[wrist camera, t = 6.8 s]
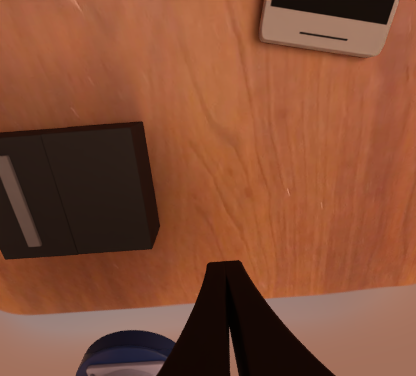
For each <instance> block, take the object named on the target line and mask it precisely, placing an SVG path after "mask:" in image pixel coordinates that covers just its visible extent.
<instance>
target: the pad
mask: <svg viewBox="0 0 416 376" xmlns="http://www.w3.org/2000/svg"><path fill="white" fill-rule="evenodd" d="M41 137H42V140H43V144H44V147H45V150H46V153H47V156H48V159H49V162H50V166H51V169H52V172H53V175H54V178H55V181H56V184H57V188H58V191H59V194H60V197H61V200H62V203H63V206H64V210H65V213H66V216H67V219H68V222H69V225H70V228H71V232H72V235H73V238H74V241H75V244H76V247H77V250H78V254H88V253H103V252H117V251H132V250H147V249H152V248H153V245H154V242H155V239H156V236H157V233H158V230H159V227H160V224H159V218H158V212H157V206H156V199H155V193H154V187H153V181H152V175H151V169H150V163H149V157H148V150H147V144H146V138H145V132H144V126H143V122H130V123H116V124H103V125H89V126H76V127H67V128H63V129H59V130H55V131H51V132H47V133H43V134H41Z"/></svg>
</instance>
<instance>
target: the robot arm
mask: <svg viewBox="0 0 416 376" xmlns="http://www.w3.org/2000/svg"><path fill="white" fill-rule="evenodd" d="M229 327H230V332H231V337H232V343H233V347H234V353H235V357H236V363H237V368H238V373H239V376H335V375H334V374H333V373H332V372H331V371H330V370H329V369H327V368H326V367H325V366H324V365H323V364H322V363H321V362H320V361H319V360H318V359H317V358H316V357H315V356H314V355H313V354H311V352H310V351H309V350H308V349H307V348H306V347H305V346H304V345H303V344H302V343H301V342H300V341H299V340H298V339H297V338H296V337H295V336H294V335H293V334H292V333H291V331H290V330H289V329H288V328H287V327H286V326H285V325H284V324H283V322H282V321H281V320H280V319H279V317H278V316H277V315H276V314H275V312H274V311H273V310H272V309H271V307H270V306H269V305H268V304H267V302H266V301H265V299H264V298H263V297H262V295H261V294H260V292H259V291H258V290H257V288H256V287H255V285H254V284H253V282H252V281H251V279H250V277H249V276H248V274H247V272H246V270H245V269H244V267H243V265H242V262H240V261H239V260H236V261H222V262H209V263H208V264H207V268H206V273H205V277H204V281H203V284H202V287H201V290H200V292H199V295H198V298H197V300H196V303H195V305H194V308H193V310H192V312H191V314H190V316H189V319H188V321H187V323H186V325H185V327H184V329H183V331H182V333H181V335H180V337H179V339H178V340H177V342H176V344H175V346H174V347H173V349H172V351H171V353H170V354H169V356H168V358H167V359H166V361H146V362H130V363H114V364H98V365H89V366H88V368H87V370H86V372H87V375H88V376H230V355H229V354H230V353H229Z"/></svg>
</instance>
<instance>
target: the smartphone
mask: <svg viewBox="0 0 416 376" xmlns="http://www.w3.org/2000/svg"><path fill="white" fill-rule="evenodd" d="M398 3H399V0H264V3H263V9H262V15H261V20H260V26H259V38H260V41H262V42H266V43H272V44H279V45H285V46H292V47H298V48H305V49H311V50H318V51H324V52H331V53H338V54H344V55H351V56H357V57H364V58H368V57H373V56H377V55H378V54H379V53H380V52H381V50H382V48H383V46H384V44H385V41H386V38H387V35H388V32H389V29H390V26H391V23H392V20H393V17H394V14H395V11H396V8H397V6H398Z"/></svg>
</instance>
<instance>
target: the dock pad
mask: <svg viewBox="0 0 416 376" xmlns="http://www.w3.org/2000/svg"><path fill="white" fill-rule="evenodd" d="M59 129H63V128H57V129H43V130H30V131H16V132H3V133H0V250H1V252H2V254H3V256H4V258H5V259H6V260H7V259H22V258H36V257H51V256H66V255H78V250H77V247H76V244H75V241H74V238H73V235H72V232H71V228H70V225H69V222H68V219H67V216H66V213H65V210H64V206H63V203H62V200H61V197H60V194H59V191H58V188H57V184H56V181H55V178H54V175H53V172H52V169H51V166H50V162H49V159H48V156H47V153H46V150H45V147H44V144H43V140H42V137H41V134H43V133H47V132H51V131H55V130H59Z"/></svg>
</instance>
